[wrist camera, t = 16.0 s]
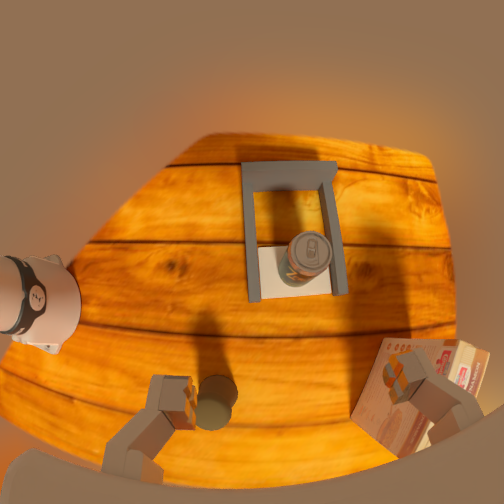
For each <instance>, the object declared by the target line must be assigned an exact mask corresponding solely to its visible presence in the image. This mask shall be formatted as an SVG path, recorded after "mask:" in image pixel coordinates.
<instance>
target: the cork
mask: <svg viewBox="0 0 504 504" xmlns="http://www.w3.org/2000/svg"><path fill="white" fill-rule="evenodd" d="M237 398H238V391H237V387H236V385H235V384H234V382H233V381H232V380H230V379H229V378H227V377H225V376H222V375H213V376H210V377H208V378H206V379H205V380H204V381H203V382H202V383H201V385H200V387H199V392H198V395H197V407H196V408H195V410H194V413H195V415H196V425H197V426H198V427H200V428H202V429H204V430H210V431H213V430H218V429H220V428H223V427H224V426H225V425H226V424H227V423H228V422H229V420H230V418H231V412H232V409H231V408H232V406H233V405H234V404H235V402H236V400H237Z"/></svg>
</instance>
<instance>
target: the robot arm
mask: <svg viewBox="0 0 504 504" xmlns="http://www.w3.org/2000/svg"><path fill="white" fill-rule="evenodd" d="M80 312H81V298H80V292H79V289H78V286H77V283H76V281H75V279H74V278H73V276H72V275H71V274H70V273H69V272H68V271H67V270H66V269H65V268H64V266H63V264H62V261H61V259H60V257H59V256H58V255H51V256H48V257H45V258H39V257H36V256H32V255H31V256H30V257H28V258H25V259H23V260H21V259H19V258H16V257H11V256H1V255H0V333H2V334H7V335H12V340H14V341H16V342H21V343H23V344H31V345H34V346H36V347H38V348H40V349H42V350H44V351H46V352H49V353H51V354H58V353H59V351H60V349H61V346H62V344H63V343H64V341H66V340H67V339H68V338H69V337H70V336H71V335H72V334H73V332H74V331H75V329H76V327H77V324H78V322H79V318H80ZM49 345H50V348H49ZM388 361H389V363H388V364H386V365H385V367H384V369H383V375H382V377H383V381H384V384H385V386H387V387H388V388H390V389H389V393H388V394H389V396H390V399H391V401H392V404H393V405H396V404H399V403H403V402H406V401H409V402H410V403H411V404H412V405H413V406H414V407H415V408H416V409H418V410H419V411H420V412H421V413H422V414H423V415H424V416H426V417H427V418H428V419H429V420H430V421H431V422H433V423H434V424H435V425H434V426H433V427H432V428H431V429H429V430H428V432H427V435H428V438H429V440H430V443H431V446H429V447H427V448H425V449H423V450H420V451H418V452H416V453H413V454H411V455H408V456H406V457H403V458H400V459H398V460H395V461H392V462H389V463H386V464H383V465H380V466H377V467H374V468H371V469H367V470H364V471H360V472H356V473H353V474H349V475H345V476H340V477H336V478H331V479H327V480H321V481H316V482H310V483H304V484H297V485H289V486H281V487H270V488H255V489H204V488H189V487H179V486H170V485H162V484H163V469H162V468H161V467H160V466H159V465H157V464H156V463H155V462H154V461H152V460H153V459H154V458H155V456H156V455H157V454H158V453H159V451H160V450H161V449H162V447H163V446H164V445H165V443H166V442H167V441H168V440H169V438H170V437H171V436H172V434H173V433H174V432H175V429H176V430H195V426H196V415H195V413H194V410H195V408H196V407H197V392H196V388H195V386H193V385H192V382H193V380H192V378H191V376H172V375H153V376H152V378H151V382H150V387H149V391H148V396H147V401H146V406H145V409H141V410H140V411H139V412H138V413H137V414H136V415H135V416H134V417H133V418H132V419H131V420H130V421H129V422H128V423H127V424H126V425H125V426H124V427H123V428H122V429H121V430H120V431H119V432H118V433H117V434H116V435H115V436H114V437H113V438H112V439H111V440H110V441H109V442H108V443H107V444H106V449H105V454H104V459H103V464H102V469H101V472H100V471H97V470H93V469H90V468H87V467H84V466H80V465H78V464H75V463H71V462H69V461H66V460H63V459H61V458H58V457H56V456H53V455H51V454H48V453H46V452H44V451H42V450H39V449H36V448H31V449H29V450H27V451H25V452H24V453H23V454H21V455H20V456H19V457H17V458H16V459H15V460H13V461H12V462H11V464H10V465H9V467H8V469H7V472H6V475H5V478H4V482H3V486H2V490H1V495H0V504H504V404H503V405H501V406H500V407H499V408H497V409H496V410H494V411H493V412H491V413H490V414H488V415H487V416H485V417H484V415H483V413H482V411H481V409H480V406H479V404H478V403H477V400H476V398H475V397H474V395H472V394H471V393H469V392H468V391H466V390H465V389H463V388H461V387H460V386H458V385H457V384H455V383H454V382H452V381H450V380H449V379H447V378H446V377H444V376H443V375H441V374H440V373H439V374H437V373H436V371H435V369H434V368H433V366H432V364H431V362H430V360H429V358H428V357H427V355H426V353H425V351H424V350H423V349H422V348H421V347H418V348H414V349H411V350H406V351H403V352H399V353H395V354H392V355H390V357H389V359H388Z"/></svg>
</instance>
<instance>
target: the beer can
mask: <svg viewBox="0 0 504 504" xmlns="http://www.w3.org/2000/svg"><path fill="white" fill-rule="evenodd" d="M331 258H332V247H331V245H330V243H329V241H328V240H327V238H326V237H325V236H323V235H322V234H320V233H318V232H315V231H306V232H303V233H300V234H298V235H297V236H295V237H294V238H293V239H292V240H291V242H290V243H289V245H288V247H287V249H286V251H285V253H284V255H283V257H282V259H281V261H280V264H279V267H278V273H279V276H280V278H281V280H282V281H283V282H284V283H285V284H286V285H288V286H291V287H301V286H304V285H306V284H307V283H308V282H310V281H311V280H313V279H314V278H316V277H317V276H318V275H320V274H321V273H322V272H324V271H325V270H326V269H327V268H328V266H329V264H330V262H331Z"/></svg>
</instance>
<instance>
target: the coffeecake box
mask: <svg viewBox="0 0 504 504" xmlns="http://www.w3.org/2000/svg"><path fill="white" fill-rule="evenodd" d="M418 347H421V348H422V349H423V350H424V351H425V353H426V355H427V357H428V358H429V360H430V362H431V364H432V366H433V368H434V369H435V371H436V373H437V374H439V373H440V374H441V375H443V376H444V377H446V378H447V379H449V380H450V381H452V382H454V383H455V384H457V385H458V386H460V387H461V388H463V389H465V390H466V391H468V392H469V393H471V394H472V395H474V397H475V398H476V397H477V394H478V391H479V388H480V386H481V382H482V379H483V376H484V373H485V370H486V366H487V363H488V359H489V355H490V353H489V352H487V351H485V350H483V349H481V348H478V347H476V346H474V345H472V344H470V343H467V342H465V341H463V340H460V339H404V338H384V339H383V341H382V344H381V347H380V349H379V352H378V355H377V357H376V360H375V363H374V365H373V368H372V370H371V373H370V375H369V377H368V380H367V382H366V384H365V387H364V389H363V391H362V394H361V396H360V398H359V400H358V402H357V404H356V407H355V409H354V411H353V413H352V415H351V417H350V419H351V420H352V421H353V422H355V423H356V424H357V425H358V426H359V427H361V428H362V429H363V430H364V431H366V432H367V433H368V434H369V435H370V436H371V437H373V438H374V439H375V440H376V441H378V442H379V443H380V444H381V445H383V446H384V447H385V448H386V449H388V450H389V451H390V452H392V453H393V454H394V455H395V456H397V457H398V458H399V459H400V458H403V457H406V456H408V455H411V454H413V453H416V452H418V451H420V450H423V449H425V448H427V447H429V446H431V443H430V440H429V438H428V435H427V432H428V430H429V429H431V428H432V427H433V426H434V425H435V424H434V423H433V422H431V421H430V420H429V419H428V418H427V417H426V416H424V415H423V414H422V413H421V412H420V411H419V410H418V409H416V408H415V407H414V406H413V405H412V404H411V403H410V402H409V401H406V402H403V403H399V404H396V405H393V404H392V401H391V399H390V396H389V394H388V393H389V389H390V388H388V387H387V386H385V384H384V381H383V377H382V375H383V369H384V367H385V365H386V364H388V363H389V361H388V359H389V357H390V355H392V354H395V353H399V352H403V351H406V350H411V349H414V348H418Z"/></svg>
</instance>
